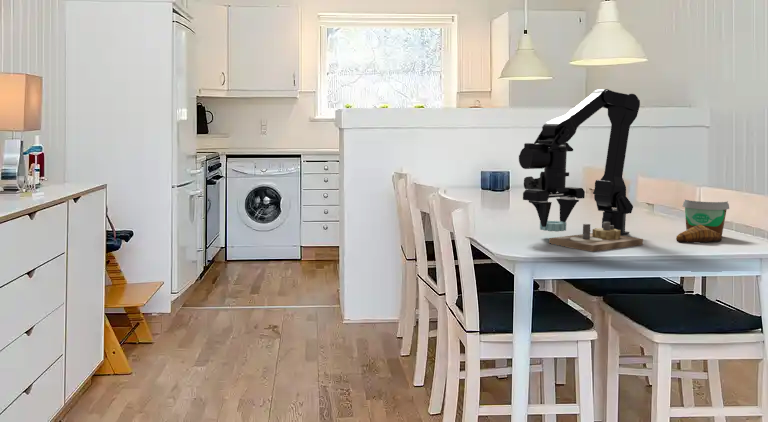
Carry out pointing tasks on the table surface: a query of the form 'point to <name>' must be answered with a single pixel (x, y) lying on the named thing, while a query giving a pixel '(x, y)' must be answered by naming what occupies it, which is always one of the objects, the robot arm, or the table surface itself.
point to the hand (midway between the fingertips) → (553, 225)
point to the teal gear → (554, 226)
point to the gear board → (597, 239)
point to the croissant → (699, 235)
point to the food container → (706, 214)
